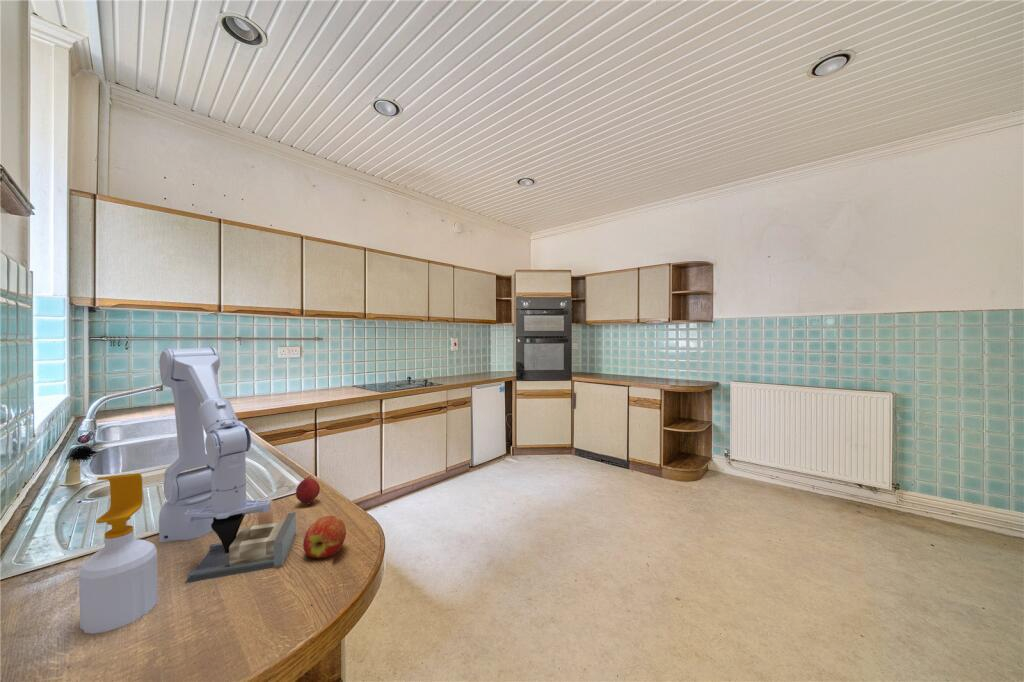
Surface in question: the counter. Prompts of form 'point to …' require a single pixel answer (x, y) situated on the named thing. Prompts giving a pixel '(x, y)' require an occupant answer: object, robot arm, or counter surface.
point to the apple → (324, 537)
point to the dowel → (266, 516)
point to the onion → (307, 490)
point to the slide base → (219, 562)
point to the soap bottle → (119, 565)
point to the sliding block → (254, 543)
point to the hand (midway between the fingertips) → (229, 550)
